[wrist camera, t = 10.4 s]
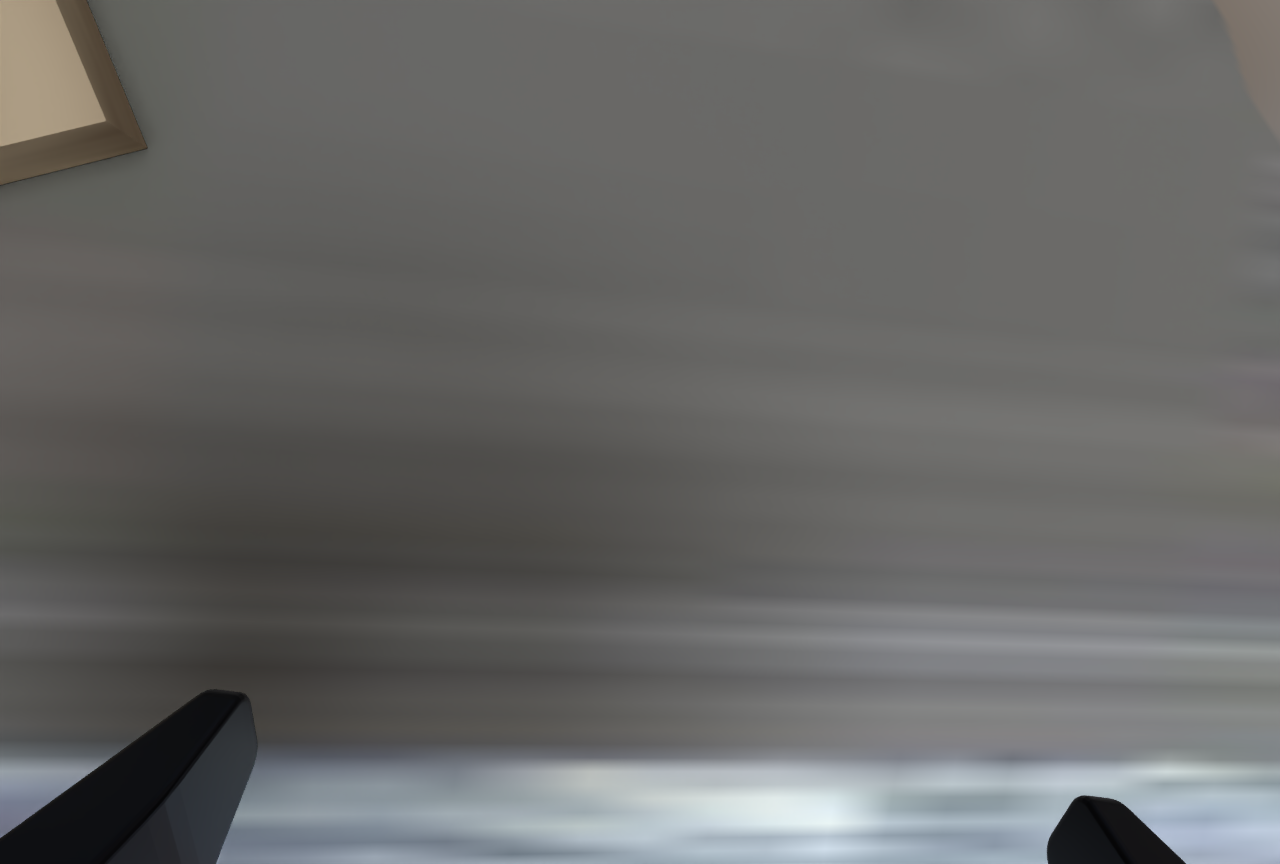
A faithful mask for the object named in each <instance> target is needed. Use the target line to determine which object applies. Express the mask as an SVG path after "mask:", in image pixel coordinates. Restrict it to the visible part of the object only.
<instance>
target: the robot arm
mask: <svg viewBox="0 0 1280 864" xmlns="http://www.w3.org/2000/svg"><path fill="white" fill-rule="evenodd" d="M256 755H257V737H256V731H255V725H254V720H253V714H252V708H251V703H250V699H249V698H248V697H247V695H246V694H244V693H241V692H233V691H225V690H216V689H214V690H207V691H205V692H202V693H200V694H199V695H197V696H196V697H195V698H193V699H192V700H190V701H189V702H188V703H186V704H185V705H184V706H182V707H181V708H179V709H178V710H177V711H175V712H174V713H172V714H171V715H170V716H168V717H167V718H166V719H164V720H163V721H161V722H160V723H159V724H157V725H156V726H155V727H153V728H152V729H150V730H149V731H148V732H146V733H145V734H144V735H142V736H141V737H139V738H138V739H137V740H135V741H134V742H132V743H131V744H130V745H128V746H127V747H126V748H124V749H123V750H121V751H120V752H119V753H117V754H116V755H115V756H113V757H112V758H110V759H109V760H108V761H106V762H105V763H104V764H102V765H101V766H99V767H98V768H97V769H95V770H94V771H92V772H91V773H90V774H88V775H87V776H86V777H84V778H83V779H81V780H80V781H79V782H77V783H76V784H75V785H73V786H72V787H70V788H69V789H68V790H66V791H65V792H64V793H62V794H61V795H59V796H58V797H57V798H55V799H54V800H52V801H51V802H50V803H48V804H47V805H46V806H44V807H43V808H41V809H40V810H39V811H37V812H36V813H35V814H33V815H32V816H30V817H29V818H28V819H26V820H25V821H24V822H22V823H21V824H19V825H18V826H17V827H15V828H14V829H12V830H11V831H10V832H8V833H7V834H6V835H4V836H3V837H1V838H0V864H216V862H217V859H218V857H219V854H220V851H221V849H222V846H223V844H224V841H225V839H226V836H227V833H228V831H229V828H230V826H231V823H232V821H233V818H234V815H235V813H236V810H237V808H238V805H239V803H240V800H241V798H242V795H243V792H244V790H245V787H246V785H247V782H248V780H249V777H250V774H251V772H252V769H253V766H254V763H255V760H256ZM1047 860H1048V864H1186V863H1185V862H1184V861H1183V860H1182V859H1181V858H1180V857H1179V856H1178V855H1177V854H1175V853H1174V852H1173V851H1172V850H1171V849H1170V848H1169V847H1168V846H1167V845H1166V844H1165V843H1164V842H1163V841H1162V840H1161V839H1160V838H1159V837H1158V836H1157V835H1156V834H1155V833H1154V832H1152V831H1151V830H1150V829H1149V828H1148V827H1147V826H1146V825H1145V824H1144V823H1143V822H1142V821H1141V820H1140V819H1139V818H1138V817H1137V816H1136V815H1135V814H1134V813H1133V812H1132V811H1131V810H1129V809H1128V808H1127V807H1126V806H1125V805H1124V804H1122V803H1121V802H1119V801H1117V800H1114V799H1110V798H1102V797H1094V796H1079V797H1077V798H1076V799H1074V800H1073V802H1072V803H1071V805H1070V806H1069V808H1068V809H1067V811H1066V812H1065V814H1064V815H1063V817H1062V819H1061V820H1060V822H1059V823H1058V825H1057V826H1056V828H1055V829H1054V831H1053V833H1052V834H1051V836H1050V838H1049V841H1048V845H1047Z"/></svg>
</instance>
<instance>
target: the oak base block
mask: <svg viewBox="0 0 1280 864" xmlns="http://www.w3.org/2000/svg"><path fill="white" fill-rule="evenodd" d="M146 148H147V146H146V143H145V141H144V139H143V136H142V134H141V131H140V129H139V127H138V124H137V122H136V119H135V117H134V114H133V112H132V110H131V107H130V105H129V102H128V100H127V98H126V95H125V93H124V90H123V88H122V85H121V83H120V81H119V78H118V76H117V73H116V71H115V68H114V66H113V64H112V61H111V59H110V56H109V54H108V52H107V49H106V47H105V44H104V42H103V39H102V37H101V35H100V32H99V30H98V27H97V25H96V23H95V20H94V18H93V15H92V13H91V10H90V8H89V6H88V3H87V1H86V0H0V185H3V184H7V183H11V182H15V181H19V180H23V179H27V178H31V177H35V176H39V175H43V174H47V173H51V172H55V171H59V170H63V169H67V168H70V167H74V166H78V165H82V164H86V163H90V162H94V161H98V160H102V159H106V158H110V157H114V156H118V155H122V154H126V153H130V152H134V151H138V150H142V149H146Z"/></svg>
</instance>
